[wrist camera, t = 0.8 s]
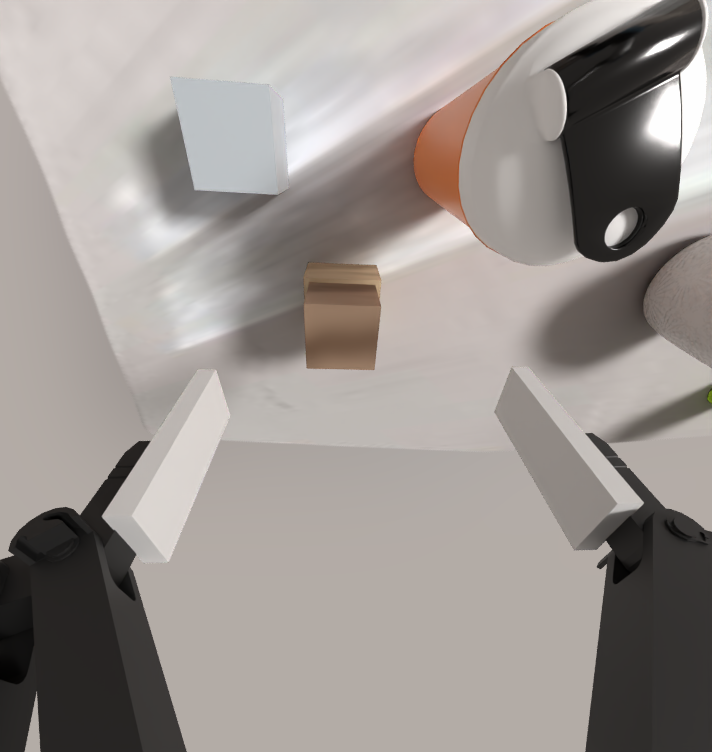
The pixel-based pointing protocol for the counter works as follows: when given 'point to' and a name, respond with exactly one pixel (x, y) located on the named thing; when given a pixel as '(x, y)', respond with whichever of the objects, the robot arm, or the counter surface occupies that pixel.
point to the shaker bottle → (574, 134)
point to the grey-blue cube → (233, 135)
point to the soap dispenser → (710, 396)
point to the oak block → (342, 274)
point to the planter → (684, 300)
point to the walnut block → (341, 325)
